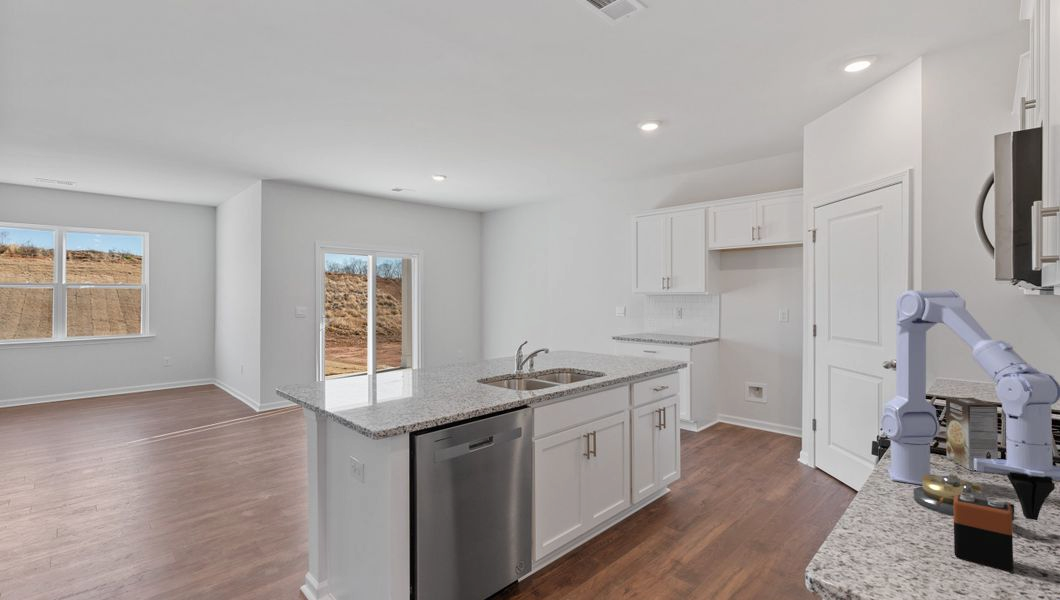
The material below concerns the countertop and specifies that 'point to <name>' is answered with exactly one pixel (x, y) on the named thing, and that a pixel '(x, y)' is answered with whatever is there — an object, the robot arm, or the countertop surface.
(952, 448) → the coffee box
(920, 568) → the countertop surface
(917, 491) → the mounting plate
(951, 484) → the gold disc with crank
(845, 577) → the countertop surface
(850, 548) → the countertop surface
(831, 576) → the countertop surface
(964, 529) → the battery
